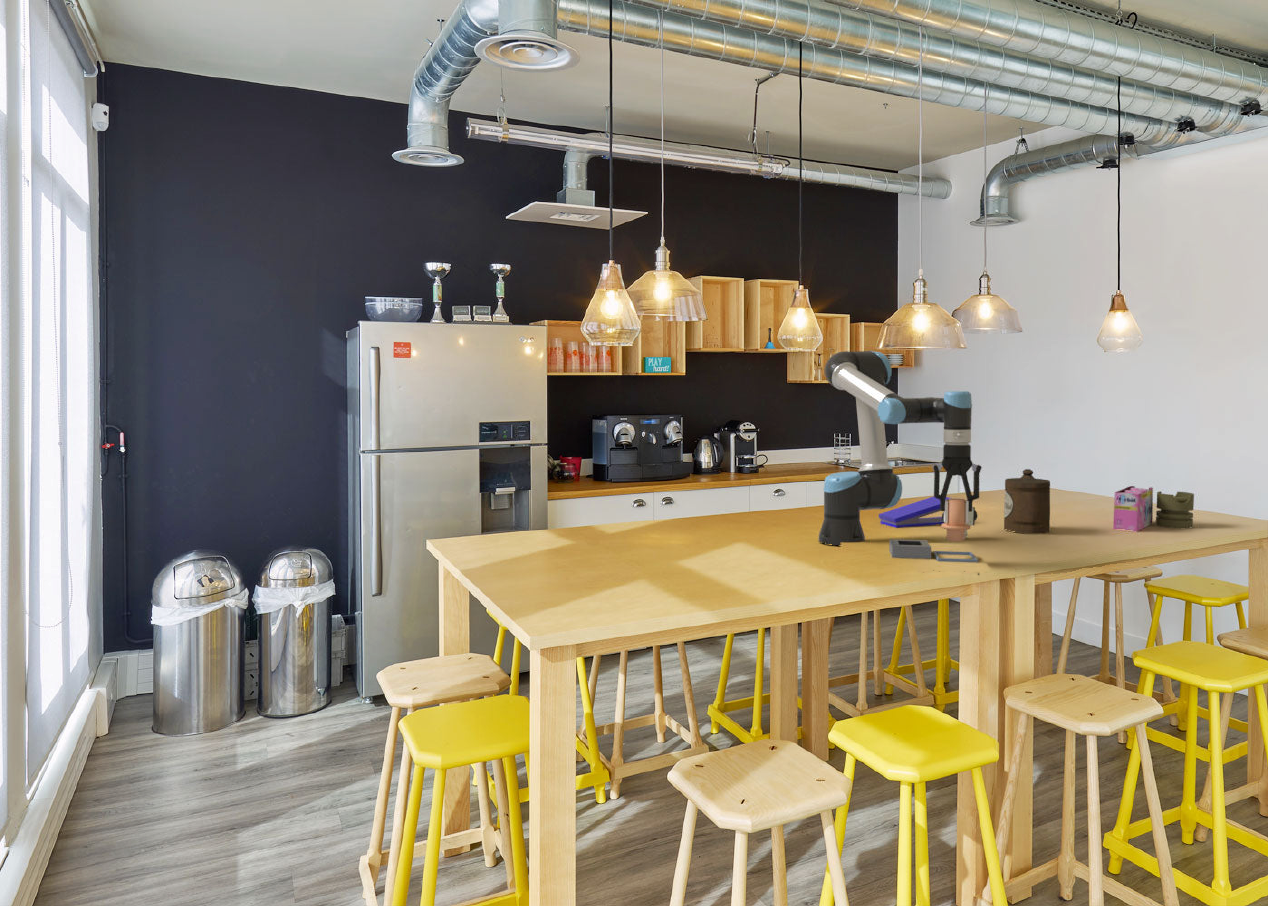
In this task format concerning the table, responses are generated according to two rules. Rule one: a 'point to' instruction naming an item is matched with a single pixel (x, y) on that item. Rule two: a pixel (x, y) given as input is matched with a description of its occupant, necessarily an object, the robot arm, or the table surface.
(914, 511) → the stapler
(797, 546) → the table surface
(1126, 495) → the gum box
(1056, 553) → the table surface
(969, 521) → the pneumatic valve
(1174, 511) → the piston
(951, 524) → the flanged copper cylinder
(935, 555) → the blue-grey square frame
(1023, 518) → the wooden container
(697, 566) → the table surface
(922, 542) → the block
